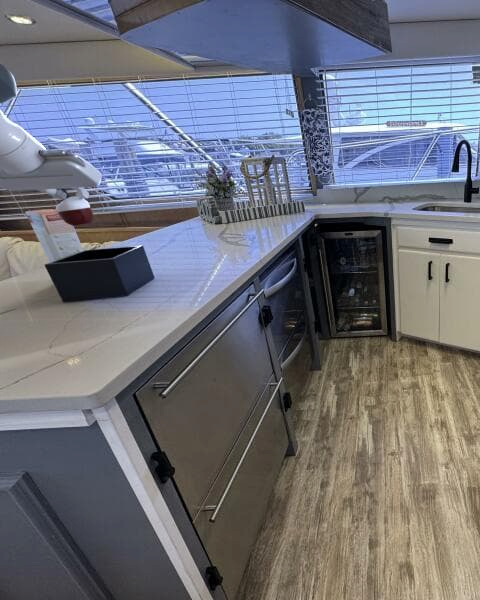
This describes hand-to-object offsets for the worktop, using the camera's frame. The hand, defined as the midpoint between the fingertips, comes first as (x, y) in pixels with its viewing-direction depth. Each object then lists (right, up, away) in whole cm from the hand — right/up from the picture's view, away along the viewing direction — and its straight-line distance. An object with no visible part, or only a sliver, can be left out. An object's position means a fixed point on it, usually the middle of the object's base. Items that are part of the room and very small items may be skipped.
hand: (74, 197), depth 79 cm
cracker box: (-16, -20, +17) cm, 31 cm away
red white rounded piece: (0, -6, +2) cm, 7 cm away
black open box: (+1, -23, +10) cm, 24 cm away
